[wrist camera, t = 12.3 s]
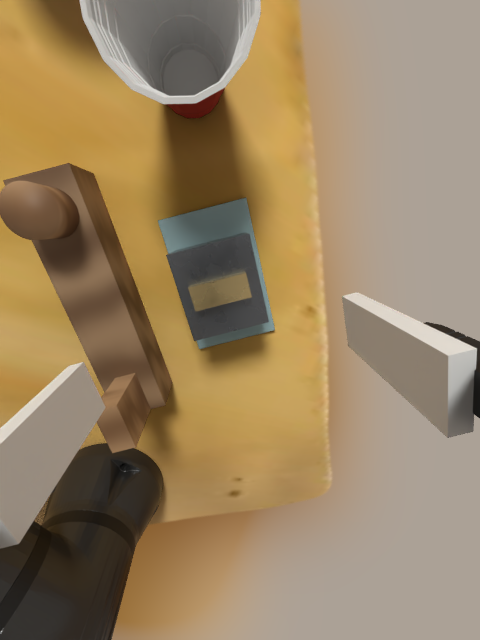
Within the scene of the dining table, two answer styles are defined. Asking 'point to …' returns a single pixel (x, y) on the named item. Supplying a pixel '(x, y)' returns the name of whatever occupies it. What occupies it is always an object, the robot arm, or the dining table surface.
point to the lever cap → (219, 286)
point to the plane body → (92, 291)
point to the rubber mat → (209, 228)
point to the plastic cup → (174, 46)
